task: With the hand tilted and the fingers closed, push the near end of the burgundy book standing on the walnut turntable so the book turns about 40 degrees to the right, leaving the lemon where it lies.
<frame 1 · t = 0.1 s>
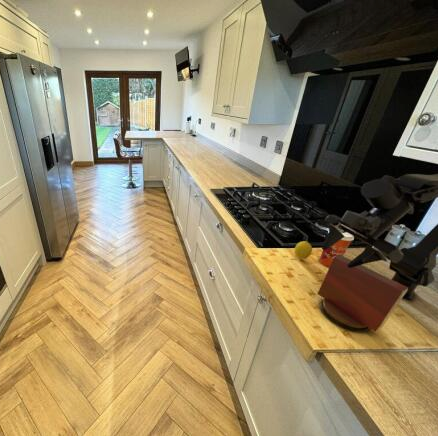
hand: (334, 257, 67), 16 cm above the worktop, tool tilted 35°, fingers open, 8 cm apart
paper cup: (327, 263, 92), on the worktop
lemon: (299, 259, 94), on the worktop
turntable base: (343, 314, 69), on the worktop
book stand: (356, 292, 65), point 9 cm above the worktop, hinge at 3.1°, touching gripper
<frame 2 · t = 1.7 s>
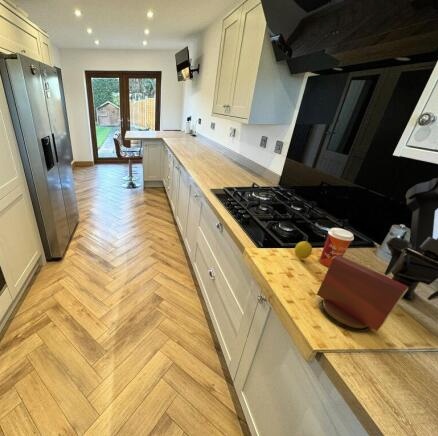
hand: (405, 286, 62), 13 cm above the worktop, tool tilted 40°, fingers open, 9 cm apart
book stand: (356, 292, 65), point 9 cm above the worktop, hinge at 7.6°
everything else where it was.
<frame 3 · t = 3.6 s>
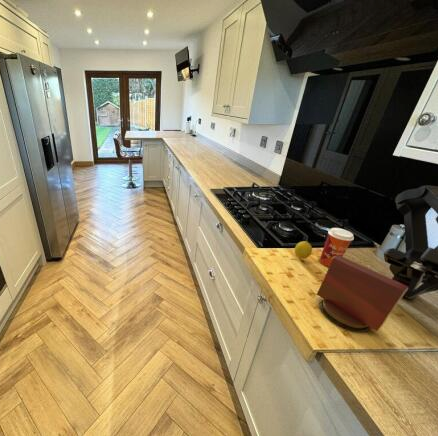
hand: (407, 297, 62), 10 cm above the worktop, tool tilted 45°, fingers closed
nothing on the worktop moved.
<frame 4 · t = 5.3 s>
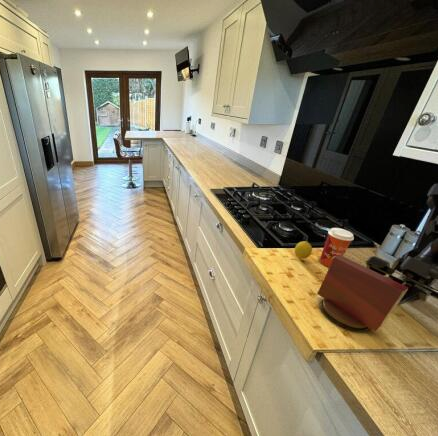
hand: (388, 306, 61), 9 cm above the worktop, tool tilted 45°, fingers closed, pressing on book stand
book stand: (356, 292, 65), point 9 cm above the worktop, hinge at 3.8°, touching gripper
everything else where it was.
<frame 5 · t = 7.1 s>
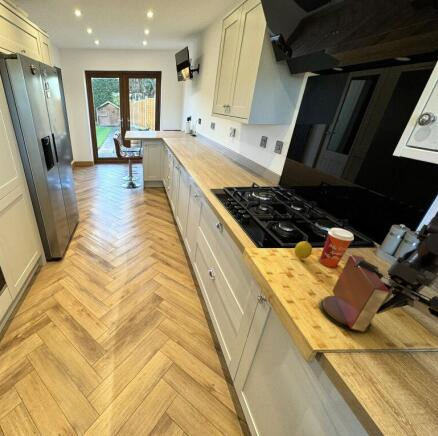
hand: (375, 312, 59), 8 cm above the worktop, tool tilted 45°, fingers closed
book stand: (355, 292, 65), point 9 cm above the worktop, hinge at -43.0°
everything else where it was.
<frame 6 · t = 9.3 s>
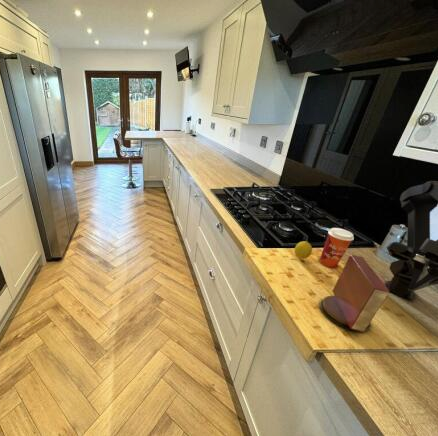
hand: (410, 290, 61), 12 cm above the worktop, tool tilted 40°, fingers closed
nothing on the worktop moved.
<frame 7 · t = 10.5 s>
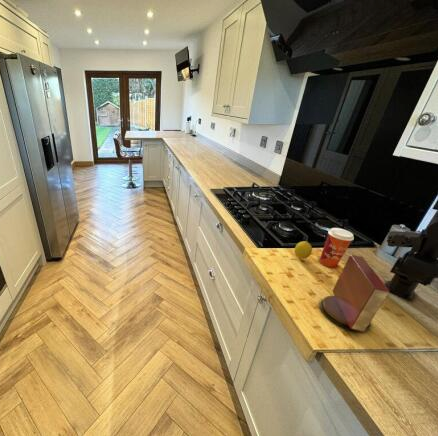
hand: (409, 280, 65), 12 cm above the worktop, tool pointing down, fingers closed
nothing on the worktop moved.
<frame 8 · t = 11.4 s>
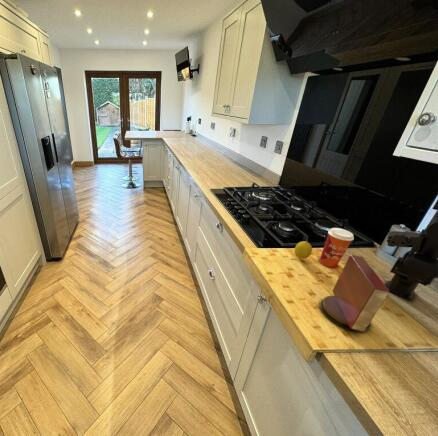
hand: (409, 280, 65), 12 cm above the worktop, tool pointing down, fingers closed
nothing on the worktop moved.
at the end: book stand at -43° (first picture: +3°); lemon moved 0.2 cm from its start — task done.
